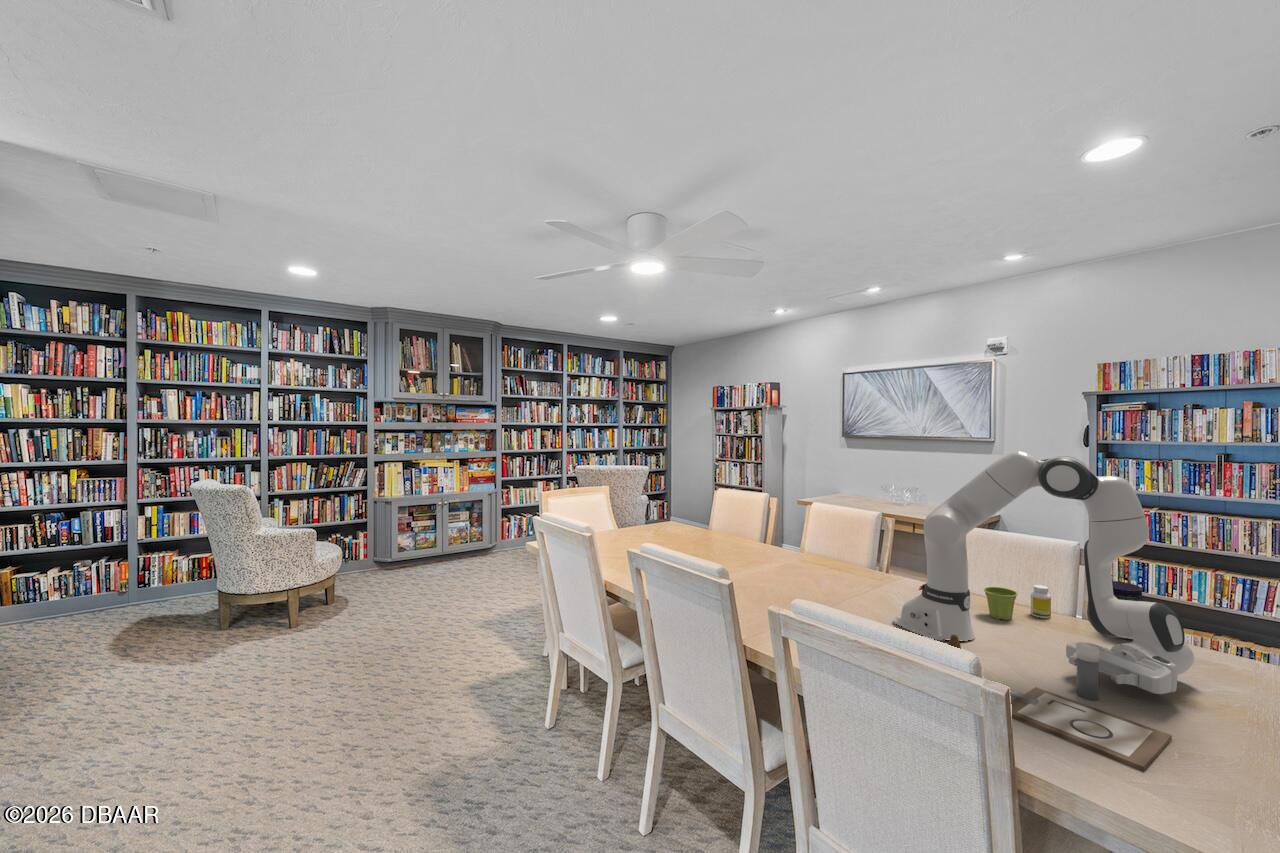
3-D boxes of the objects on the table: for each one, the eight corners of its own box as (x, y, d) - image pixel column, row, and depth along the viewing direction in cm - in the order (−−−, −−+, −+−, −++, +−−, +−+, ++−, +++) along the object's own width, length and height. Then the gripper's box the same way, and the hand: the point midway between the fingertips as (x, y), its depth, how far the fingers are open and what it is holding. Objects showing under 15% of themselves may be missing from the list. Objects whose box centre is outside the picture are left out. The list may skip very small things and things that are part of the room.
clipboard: (993, 710, 122) (993, 703, 122) (1028, 687, 131) (1028, 681, 131) (1143, 771, 100) (1143, 762, 100) (1171, 739, 110) (1171, 731, 110)
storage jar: (1104, 637, 161) (1104, 587, 161) (1095, 625, 170) (1095, 579, 170) (1148, 643, 156) (1148, 592, 156) (1136, 631, 165) (1136, 583, 165)
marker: (1073, 694, 128) (1073, 644, 128) (1080, 689, 130) (1080, 640, 130) (1095, 702, 124) (1095, 651, 124) (1102, 697, 127) (1102, 646, 127)
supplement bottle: (1054, 619, 176) (1054, 589, 175) (1035, 618, 177) (1035, 588, 176) (1045, 613, 181) (1045, 584, 181) (1027, 612, 182) (1027, 583, 182)
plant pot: (1005, 624, 172) (1004, 597, 172) (977, 614, 181) (977, 588, 181) (1024, 619, 175) (1024, 593, 175) (996, 610, 184) (996, 585, 184)
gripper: (1088, 633, 142) (1048, 639, 138) (1185, 667, 122) (1142, 676, 118) (1088, 657, 142) (1048, 664, 138) (1184, 695, 122) (1141, 704, 118)
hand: (1092, 670), depth 128 cm, fingers open, 8 cm apart
